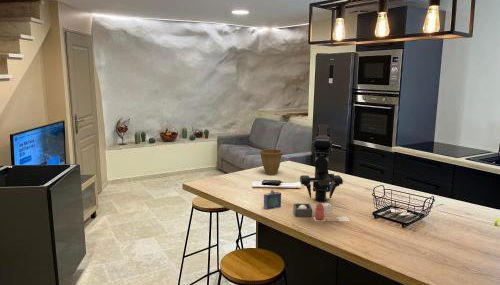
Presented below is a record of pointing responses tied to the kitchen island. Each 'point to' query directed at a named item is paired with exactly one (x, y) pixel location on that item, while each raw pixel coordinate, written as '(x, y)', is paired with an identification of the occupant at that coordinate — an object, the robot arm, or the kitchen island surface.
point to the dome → (302, 207)
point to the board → (334, 219)
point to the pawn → (319, 212)
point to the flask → (272, 200)
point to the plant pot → (271, 160)
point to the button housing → (302, 210)
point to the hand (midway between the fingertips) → (320, 197)
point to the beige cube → (327, 208)
